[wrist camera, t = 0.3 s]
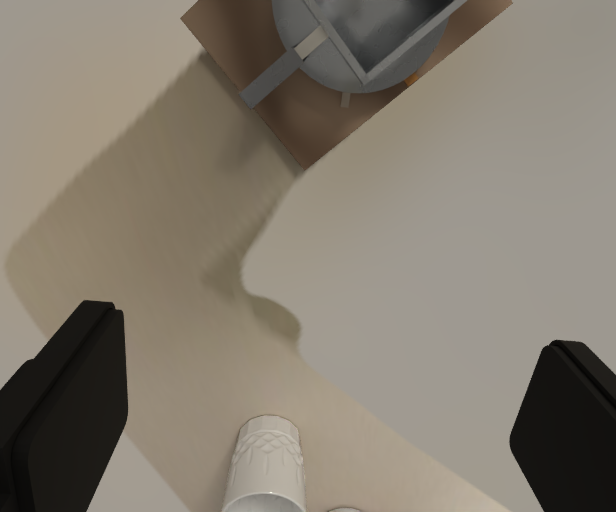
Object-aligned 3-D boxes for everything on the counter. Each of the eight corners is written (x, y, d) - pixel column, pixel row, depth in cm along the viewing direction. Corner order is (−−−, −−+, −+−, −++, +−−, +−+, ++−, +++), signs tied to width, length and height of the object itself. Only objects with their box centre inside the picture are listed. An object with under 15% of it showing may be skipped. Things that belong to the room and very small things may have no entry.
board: (398, -190, 30) (403, -201, 28) (505, 4, 34) (514, 2, 33) (183, 19, 34) (179, 18, 33) (304, 167, 39) (304, 171, 37)
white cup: (319, 444, 51) (325, 530, 42) (262, 475, 53) (255, 565, 43) (276, 397, 48) (272, 478, 39) (217, 432, 50) (199, 518, 41)
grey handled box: (379, -153, 29) (395, -191, 25) (476, 15, 33) (506, 9, 29) (194, 25, 33) (178, 21, 28) (301, 157, 37) (302, 172, 32)
